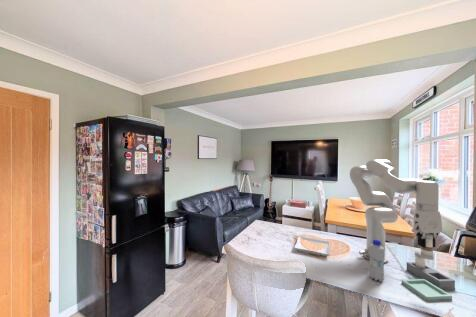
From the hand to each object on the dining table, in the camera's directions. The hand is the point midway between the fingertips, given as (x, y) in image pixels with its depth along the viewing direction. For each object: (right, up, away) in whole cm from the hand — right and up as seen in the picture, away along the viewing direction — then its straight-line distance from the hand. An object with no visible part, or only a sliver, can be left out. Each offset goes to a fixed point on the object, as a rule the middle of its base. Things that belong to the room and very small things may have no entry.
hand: (426, 245), depth 91 cm
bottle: (-17, -21, +9) cm, 29 cm away
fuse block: (+11, -21, +10) cm, 26 cm away
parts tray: (-1, -21, 0) cm, 21 cm away
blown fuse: (0, -5, 0) cm, 5 cm away
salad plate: (-38, -21, +42) cm, 60 cm away
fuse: (+11, -21, +14) cm, 28 cm away
